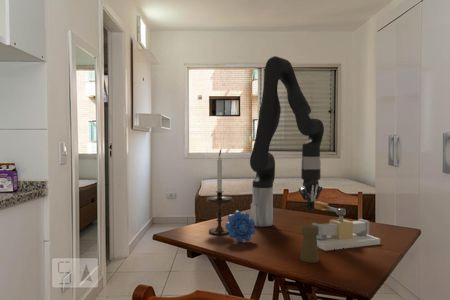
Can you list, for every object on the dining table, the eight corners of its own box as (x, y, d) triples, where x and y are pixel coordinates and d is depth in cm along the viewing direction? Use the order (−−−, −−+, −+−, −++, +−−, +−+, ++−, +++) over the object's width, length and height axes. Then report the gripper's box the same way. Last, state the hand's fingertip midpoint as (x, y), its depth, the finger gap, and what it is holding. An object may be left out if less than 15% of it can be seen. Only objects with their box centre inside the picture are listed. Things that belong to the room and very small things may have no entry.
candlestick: (227, 228, 152) (227, 148, 152) (236, 234, 142) (236, 148, 141) (203, 230, 149) (203, 148, 148) (210, 236, 139) (210, 148, 138)
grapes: (228, 246, 126) (228, 213, 126) (224, 241, 132) (224, 210, 132) (259, 244, 129) (259, 212, 128) (253, 239, 135) (253, 208, 135)
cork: (297, 256, 115) (297, 223, 115) (315, 256, 116) (315, 223, 116) (303, 262, 109) (303, 227, 109) (322, 262, 110) (322, 227, 110)
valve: (324, 250, 121) (325, 221, 121) (303, 240, 135) (303, 213, 134) (380, 244, 129) (380, 216, 129) (354, 234, 143) (354, 209, 142)
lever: (340, 216, 130) (340, 209, 130) (312, 207, 147) (312, 201, 147) (347, 215, 131) (347, 208, 131) (318, 206, 148) (318, 201, 148)
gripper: (313, 166, 149) (312, 207, 149) (293, 168, 140) (292, 211, 141) (328, 167, 143) (328, 209, 143) (308, 169, 134) (308, 214, 135)
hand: (310, 210), depth 142 cm, fingers closed
